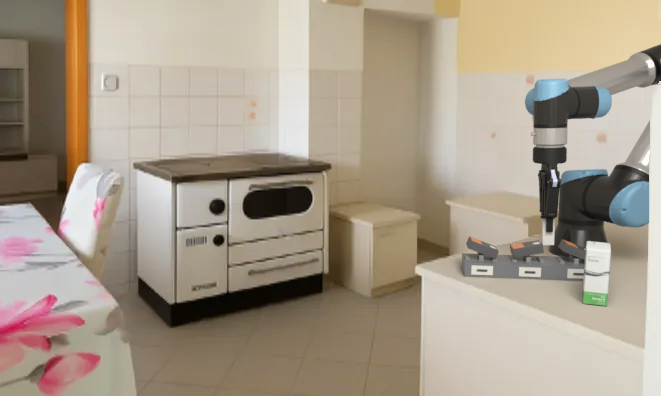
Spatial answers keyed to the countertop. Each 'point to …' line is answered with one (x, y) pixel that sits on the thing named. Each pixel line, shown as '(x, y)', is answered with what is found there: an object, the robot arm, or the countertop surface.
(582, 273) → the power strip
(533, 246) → the rocker
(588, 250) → the ink box
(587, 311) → the countertop surface
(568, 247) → the rocker
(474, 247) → the rocker
